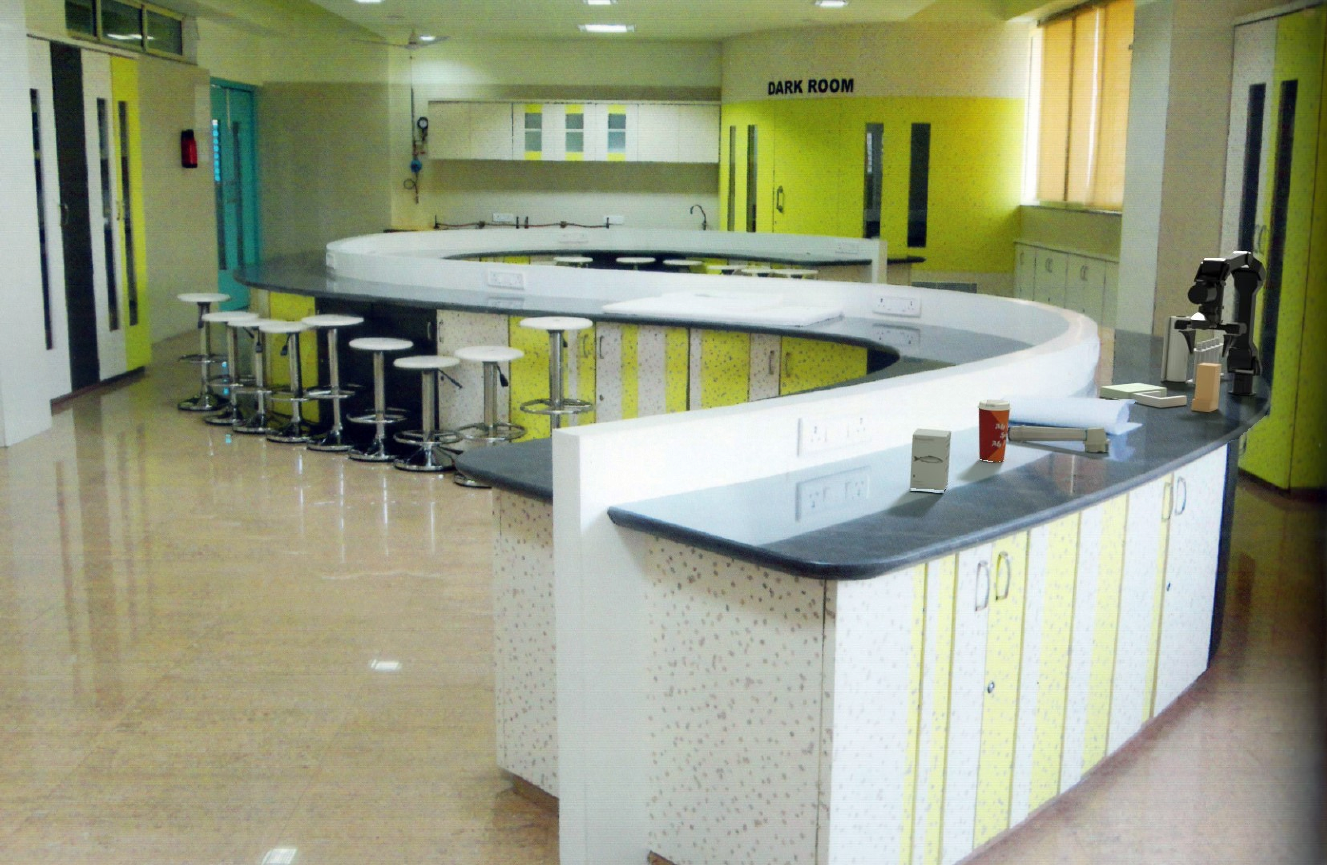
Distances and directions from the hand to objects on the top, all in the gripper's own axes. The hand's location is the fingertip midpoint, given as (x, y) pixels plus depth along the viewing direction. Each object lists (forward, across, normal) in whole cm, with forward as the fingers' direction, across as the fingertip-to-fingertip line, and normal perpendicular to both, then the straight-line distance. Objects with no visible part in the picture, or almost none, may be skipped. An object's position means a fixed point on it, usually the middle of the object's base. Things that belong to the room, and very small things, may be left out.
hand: (1207, 355), depth 347 cm
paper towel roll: (+15, -26, +38) cm, 49 cm away
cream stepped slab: (+15, -16, -3) cm, 22 cm away
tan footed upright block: (+15, +3, -5) cm, 16 cm away
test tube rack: (+15, -20, +48) cm, 54 cm away
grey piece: (+15, -1, -81) cm, 83 cm away
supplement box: (+15, +2, -141) cm, 141 cm away
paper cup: (+15, -4, -107) cm, 108 cm away
